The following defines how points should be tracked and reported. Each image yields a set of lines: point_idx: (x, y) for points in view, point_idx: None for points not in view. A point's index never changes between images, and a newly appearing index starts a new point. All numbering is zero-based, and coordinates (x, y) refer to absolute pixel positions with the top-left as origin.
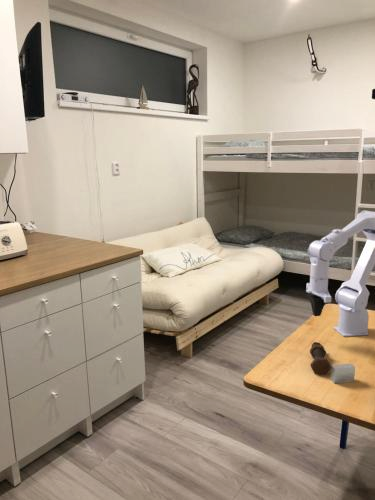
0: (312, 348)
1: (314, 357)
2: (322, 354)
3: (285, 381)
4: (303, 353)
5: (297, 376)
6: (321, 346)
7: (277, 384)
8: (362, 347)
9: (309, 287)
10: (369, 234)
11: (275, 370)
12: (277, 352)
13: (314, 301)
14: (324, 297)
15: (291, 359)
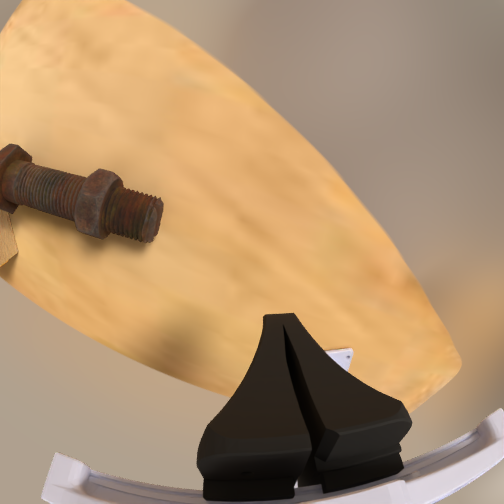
0: (86, 182)
1: (42, 171)
2: (44, 208)
3: (9, 63)
4: (147, 149)
5: (18, 97)
6: (77, 225)
7: (6, 44)
8: (191, 369)
9: (436, 499)
10: None
11: (56, 30)
12: (173, 40)
13: (210, 422)
14: (58, 495)
15: (106, 87)
